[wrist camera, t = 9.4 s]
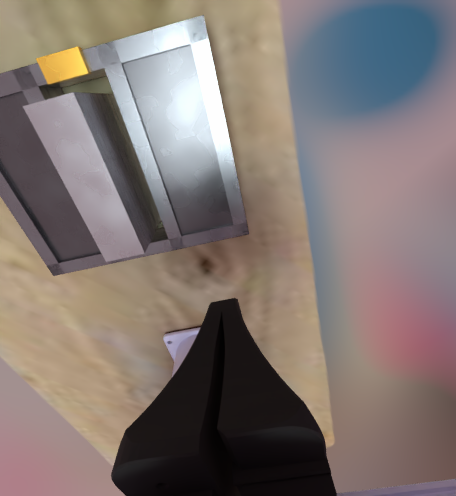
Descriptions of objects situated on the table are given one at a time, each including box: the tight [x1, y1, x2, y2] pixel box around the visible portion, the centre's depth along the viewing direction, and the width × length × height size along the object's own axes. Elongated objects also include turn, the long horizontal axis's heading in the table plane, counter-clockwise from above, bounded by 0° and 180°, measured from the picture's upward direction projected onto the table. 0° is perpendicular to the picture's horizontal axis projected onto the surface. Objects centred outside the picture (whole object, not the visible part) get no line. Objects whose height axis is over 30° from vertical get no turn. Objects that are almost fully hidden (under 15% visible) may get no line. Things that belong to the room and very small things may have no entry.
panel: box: [23, 92, 161, 262], centre depth 17 cm, size 9×3×6 cm, turn 13°
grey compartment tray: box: [0, 15, 249, 276], centre depth 19 cm, size 13×16×3 cm
